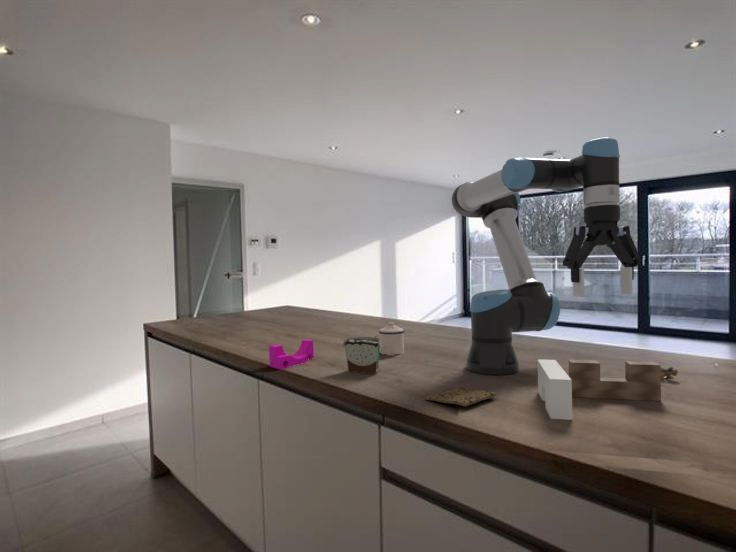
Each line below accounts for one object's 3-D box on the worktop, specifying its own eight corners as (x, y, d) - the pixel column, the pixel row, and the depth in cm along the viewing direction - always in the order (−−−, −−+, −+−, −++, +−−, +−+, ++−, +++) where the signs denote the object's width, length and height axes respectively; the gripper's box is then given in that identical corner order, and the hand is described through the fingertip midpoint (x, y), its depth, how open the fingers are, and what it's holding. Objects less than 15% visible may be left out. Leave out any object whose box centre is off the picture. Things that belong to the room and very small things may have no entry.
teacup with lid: (409, 353, 150) (408, 321, 150) (397, 358, 142) (396, 324, 142) (380, 351, 156) (379, 320, 156) (367, 355, 149) (366, 323, 148)
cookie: (457, 389, 106) (456, 381, 106) (498, 400, 96) (497, 392, 96) (424, 399, 98) (424, 391, 98) (465, 412, 89) (465, 403, 89)
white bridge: (572, 420, 82) (571, 379, 82) (550, 418, 83) (549, 379, 83) (556, 393, 99) (555, 359, 99) (538, 392, 100) (537, 359, 100)
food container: (388, 370, 126) (388, 337, 126) (381, 375, 121) (380, 341, 121) (352, 367, 131) (352, 335, 131) (343, 371, 126) (342, 339, 126)
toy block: (280, 371, 129) (279, 347, 129) (269, 368, 133) (268, 345, 133) (318, 363, 140) (317, 341, 140) (307, 360, 144) (306, 339, 144)
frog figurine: (684, 378, 110) (684, 364, 110) (675, 388, 102) (675, 373, 102) (634, 371, 119) (634, 358, 118) (622, 380, 110) (622, 366, 110)
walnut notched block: (572, 396, 96) (571, 362, 96) (569, 393, 99) (568, 359, 99) (661, 401, 91) (660, 365, 91) (655, 396, 94) (654, 362, 94)
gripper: (567, 202, 92) (569, 298, 92) (658, 203, 98) (659, 293, 98) (545, 207, 99) (547, 296, 99) (630, 208, 105) (632, 292, 105)
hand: (603, 295), depth 99 cm, fingers open, 13 cm apart
